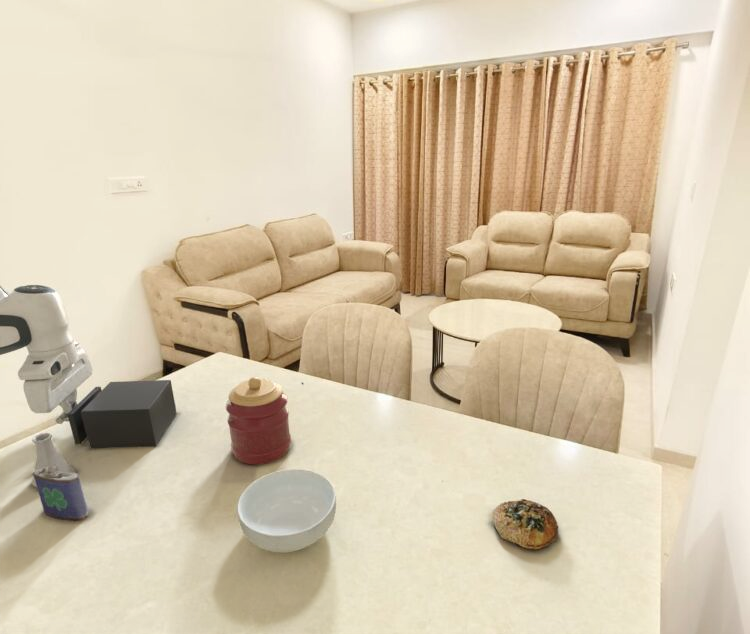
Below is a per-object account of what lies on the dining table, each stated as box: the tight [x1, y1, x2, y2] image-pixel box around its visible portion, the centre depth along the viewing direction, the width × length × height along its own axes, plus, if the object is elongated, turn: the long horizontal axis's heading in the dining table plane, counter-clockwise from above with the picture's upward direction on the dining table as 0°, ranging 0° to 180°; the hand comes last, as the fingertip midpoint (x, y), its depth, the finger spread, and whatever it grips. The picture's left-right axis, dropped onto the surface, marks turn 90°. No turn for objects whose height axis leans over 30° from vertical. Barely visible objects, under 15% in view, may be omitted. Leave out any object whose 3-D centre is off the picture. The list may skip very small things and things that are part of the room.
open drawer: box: [55, 386, 103, 445], centre depth 117 cm, size 18×13×8 cm
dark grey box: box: [81, 379, 178, 450], centre depth 118 cm, size 15×15×10 cm
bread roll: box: [492, 498, 559, 551], centre depth 87 cm, size 11×11×5 cm
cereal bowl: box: [236, 468, 337, 554], centre depth 86 cm, size 17×17×7 cm
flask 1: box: [31, 432, 76, 488], centre depth 101 cm, size 7×7×10 cm
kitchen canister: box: [225, 376, 292, 466], centre depth 108 cm, size 13×13×18 cm
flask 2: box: [32, 464, 90, 522], centre depth 90 cm, size 9×3×11 cm, turn 76°
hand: (71, 410), depth 117 cm, fingers closed, pressing on open drawer
